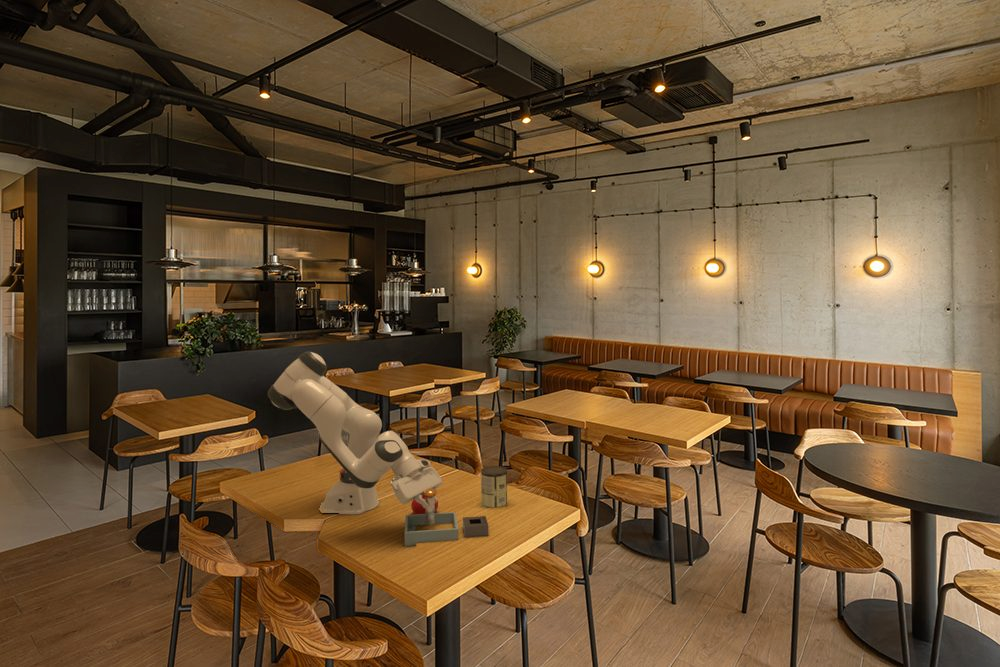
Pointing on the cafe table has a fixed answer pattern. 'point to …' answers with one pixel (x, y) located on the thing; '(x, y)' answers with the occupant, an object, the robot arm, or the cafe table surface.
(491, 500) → the coffee can
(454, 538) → the tray
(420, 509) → the red round piece
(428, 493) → the lock pin
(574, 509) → the cafe table surface
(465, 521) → the dark grey socket block
